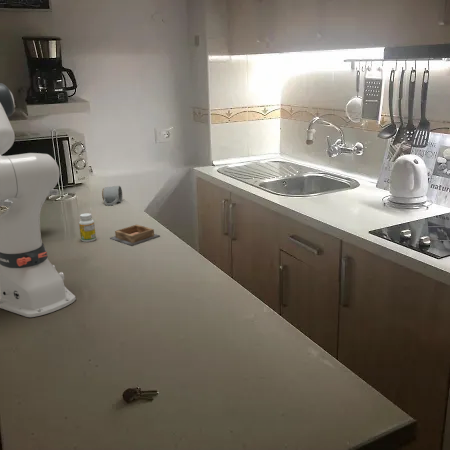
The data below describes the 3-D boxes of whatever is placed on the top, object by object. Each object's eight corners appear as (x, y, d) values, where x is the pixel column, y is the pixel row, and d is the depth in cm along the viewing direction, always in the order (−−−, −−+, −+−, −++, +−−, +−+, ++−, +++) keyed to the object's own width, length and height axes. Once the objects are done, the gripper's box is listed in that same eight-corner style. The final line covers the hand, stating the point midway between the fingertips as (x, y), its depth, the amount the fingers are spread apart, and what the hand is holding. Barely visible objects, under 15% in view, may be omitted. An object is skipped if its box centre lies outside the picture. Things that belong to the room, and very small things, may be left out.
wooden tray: (160, 236, 189) (159, 229, 189) (131, 246, 180) (131, 238, 180) (138, 230, 198) (137, 222, 197) (109, 238, 189) (109, 231, 188)
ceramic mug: (106, 200, 244) (104, 184, 242) (123, 199, 244) (121, 184, 242) (100, 206, 234) (98, 190, 232) (118, 206, 234) (117, 189, 232)
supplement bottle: (96, 241, 187) (93, 215, 184) (81, 243, 185) (78, 217, 183) (95, 236, 192) (92, 212, 189) (80, 238, 190) (77, 213, 187)
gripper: (-2, 193, 177) (35, 194, 175) (29, 180, 197) (63, 180, 194) (1, 211, 179) (38, 212, 177) (31, 196, 199) (65, 196, 196)
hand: (51, 195), depth 186 cm, fingers open, 8 cm apart
